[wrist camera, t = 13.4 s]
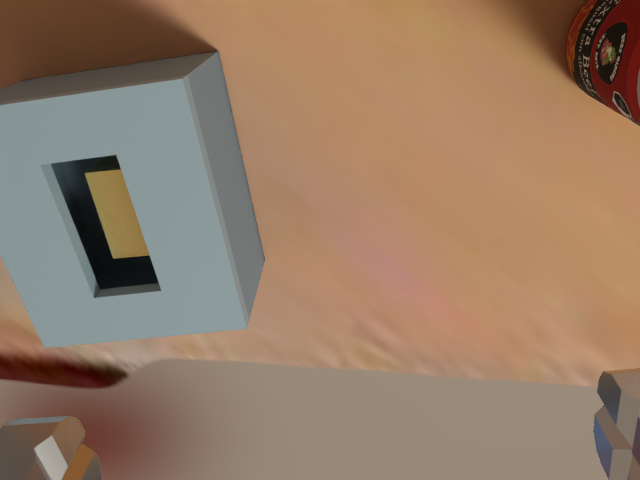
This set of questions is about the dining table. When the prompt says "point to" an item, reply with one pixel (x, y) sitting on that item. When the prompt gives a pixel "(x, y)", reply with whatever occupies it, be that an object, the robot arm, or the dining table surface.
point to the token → (115, 209)
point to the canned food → (607, 54)
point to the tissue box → (146, 195)
